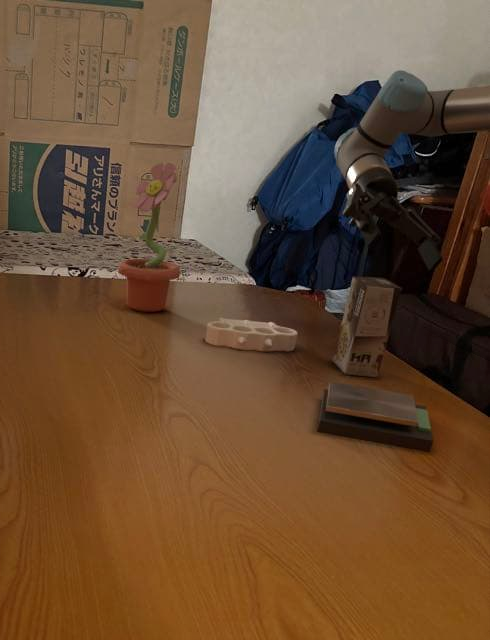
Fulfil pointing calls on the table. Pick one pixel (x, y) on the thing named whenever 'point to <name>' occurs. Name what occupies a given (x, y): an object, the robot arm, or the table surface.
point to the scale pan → (371, 404)
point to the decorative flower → (151, 274)
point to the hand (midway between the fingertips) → (405, 253)
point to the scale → (378, 428)
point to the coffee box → (366, 325)
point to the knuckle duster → (250, 335)
